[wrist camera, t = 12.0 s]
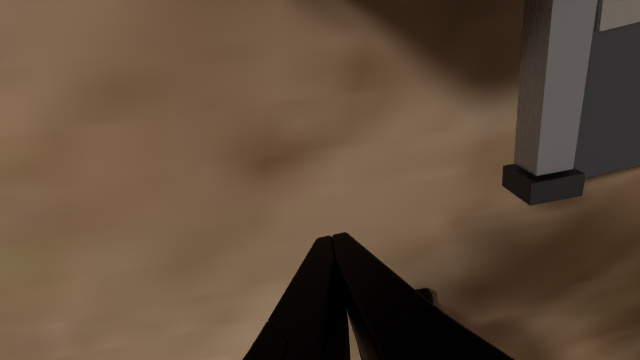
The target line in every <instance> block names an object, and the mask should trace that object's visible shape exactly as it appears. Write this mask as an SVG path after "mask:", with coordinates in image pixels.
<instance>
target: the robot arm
mask: <svg viewBox="0 0 640 360" xmlns="http://www.w3.org/2000/svg"><path fill="white" fill-rule="evenodd" d="M424 295H426V296H424ZM346 307H347V309H346ZM347 312H348V315H347ZM348 316H349V319H350V323H351V326H352V329H353V332H354V335H355V338H356V341H357V345H358V349H359V353H360V356H361V360H514V359H513V358H511V357H510V356H508V355H507V354H505V353H504V352H502V351H500V350H499V349H497V348H496V347H494V346H493V345H491V344H490V343H488V342H487V341H485V340H484V339H482V338H481V337H479V336H477V335H476V334H474V333H473V332H471V331H470V330H468V329H467V328H465V327H464V326H462V325H461V324H459V323H458V322H456V321H455V320H454V319H452V318H451V317H449V316H448V315H446V314H445V313H443V312H442V311H441V310H440V309H438V308H437V307H436V306H435V305H433V297H432V294H431V292H430V290H428V289H420V290H415V289H414V288H412V287H411V286H410V285H409V284H408V283H406V282H405V281H404V280H403V279H402V278H400V277H399V276H398V275H397V274H396V273H394V272H393V271H392V270H391V269H390V268H388V267H387V266H386V265H385V264H384V263H382V262H381V261H380V260H379V259H378V258H376V257H375V256H374V255H373V254H372V253H370V252H369V251H368V250H367V249H366V248H365V247H363V246H362V245H361V244H360V243H359V242H357V241H356V240H355V239H354V238H353V237H351V236H350V235H349V234H348V233H346V232H344V233H339V234H334V235H333V236H332V237H331V236H325V237H320V238H317V239H316V241H315V242H314V244H313V246H312V247H311V249H310V251H309V252H308V254H307V256H306V257H305V259H304V261H303V262H302V264H301V266H300V267H299V269H298V271H297V272H296V274H295V276H294V277H293V279H292V281H291V282H290V284H289V286H288V287H287V289H286V291H285V292H284V294H283V296H282V297H281V299H280V301H279V302H278V304H277V306H276V307H275V309H274V311H273V312H272V314H271V316H270V317H269V319H268V322H266V324H265V326H264V327H263V329H262V331H261V332H260V334H259V335H258V337H257V339H256V340H255V342H254V343H253V345H252V346H251V348H250V350H249V351H248V353H247V354H246V355H245V357H244V358H243V360H350V344H349V327H348Z"/></svg>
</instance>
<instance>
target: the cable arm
mask: <svg viewBox="0 0 640 360" xmlns="http://www.w3.org/2000/svg"><path fill="white" fill-rule="evenodd" d="M596 7H597V0H524V15H523V30H522V45H521V61H520V76H519V92H518V107H517V122H516V138H515V153H514V163H515V164H511V165H505V166H503V178H502V186H504V187H505V188H506V189H508V190H509V191H510V192H512V193H513V194H515V195H516V196H517V197H519V198H520V199H522V200H523V201H524V202H526V203H527V204H528V205H534V204H540V203H545V202H551V201H556V200H561V199H567V198H572V197H578V196H582V193H583V187H584V181H585V173H583V172H581V171H579V170H577V169H575V168H573V166H574V159H575V152H576V145H577V138H578V131H579V124H580V118H581V111H582V104H583V97H584V90H585V83H586V76H587V69H588V62H589V55H590V48H591V42H592V35H593V28H594V21H595V14H596Z"/></svg>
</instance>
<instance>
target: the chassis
mask: <svg viewBox="0 0 640 360" xmlns="http://www.w3.org/2000/svg"><path fill="white" fill-rule="evenodd" d="M637 166H640V0H597V7H596V14H595V21H594V28H593V35H592V42H591V48H590V55H589V62H588V69H587V76H586V83H585V90H584V97H583V104H582V111H581V118H580V124H579V131H578V138H577V145H576V152H575V159H574V166H573V168H575V169H577V170H579V171H581V172H583V173H585V178H588V177H593V176H597V175H602V174H606V173H610V172H615V171H619V170H624V169H628V168H633V167H637Z"/></svg>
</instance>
